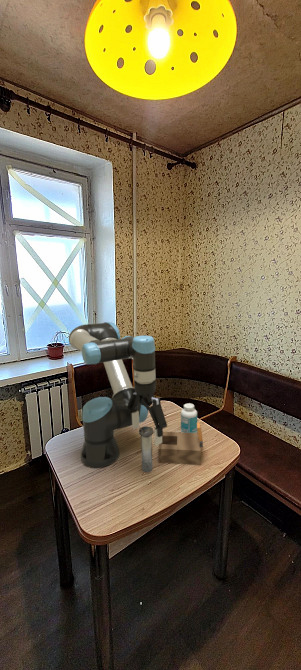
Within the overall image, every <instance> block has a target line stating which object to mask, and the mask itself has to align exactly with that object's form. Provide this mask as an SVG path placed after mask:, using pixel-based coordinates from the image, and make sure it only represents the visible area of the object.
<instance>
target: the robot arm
mask: <svg viewBox="0 0 301 670" xmlns="http://www.w3.org/2000/svg"><path fill="white" fill-rule="evenodd" d="M68 343H69V345H70V346H71V347H72V348H73V349H75V350H77V351H80V352H81V356H82V361H83V362H84V364H85V365H97V364H102V363H103V365H104V368H105V371H106V374H107V377H108V378H107V379H108V381H109V383H110V386H111V387H110V388H111V389H112V392H113V394H112V397H111V398H110V397H108V396H104V397H103V396H98V397H95V398H92V399H90V400H88V401H87V402H86V403H84V405H83V407H82V417H81V420H82V425H83V437H84V440H83V445H82V448H81V451H80V453H81V454H80V456H81V457H80V458H81V459H82V460H81V462H82V461H83V462H82V464H83V463H84V464H83V465H85V466H86V465H87V466H86V467H88V466H90V467H89V468H92V467H94V469H100V467H101V468H105V467H108V466H110V465H112V464H113V463H114V462H116V461H117V460H118V458H119V456H120V448H119V444H118V443H117V440H116V438H115V431H116V430H120V429H124V428H127V427H130V426H132V428H131V429H132V430H135V429H138V428H140V424H141V423H143V422H145V421H146V420H147V418H148V416H149V415H150V417H151V418H152V421H153V424H154V426H155V427H153V435H154V446H159V444H161V443H162V436H163V432H164V431H163V429H165V428H166V427H168V424H167V420H166V417H165V414H164V411H163V408H162V403H161V398H160V397H155V395H154V393H155V392H156V390H157V387H156V384H157V383H156V382H157V381H156V345H155V339H154V337H153V336H151V335H137V336H130V335H126V336H123V337H122V338H121V334H120V330H119V328H118V326H117V325H116V323H114V322H111V321H110V322H108V321H107V322H106V321H105V322H104V321H103V323H102V322H101V323H86V324H82V325H79V326H76V327H75V328H73V329H72V330H71V331H70V333H69V335H68ZM127 359H131V360H133V364H132V365H133V379H134V381H133V383H134V384H132V382H131V379H130V377H129V374H128V372H127V369H126V366H125V364H124V361H123V360H127Z"/></svg>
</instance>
